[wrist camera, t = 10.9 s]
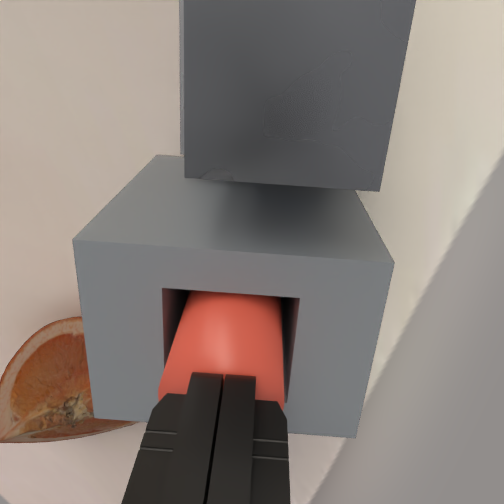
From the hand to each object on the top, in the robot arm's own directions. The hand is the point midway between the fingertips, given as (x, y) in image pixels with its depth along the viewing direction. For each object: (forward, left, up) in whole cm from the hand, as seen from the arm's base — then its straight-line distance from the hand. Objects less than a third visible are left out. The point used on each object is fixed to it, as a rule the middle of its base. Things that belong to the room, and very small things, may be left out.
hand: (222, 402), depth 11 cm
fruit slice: (-7, -8, -11) cm, 16 cm away
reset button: (0, 0, -7) cm, 7 cm away
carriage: (+1, +7, -11) cm, 13 cm away
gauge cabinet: (0, 0, -11) cm, 11 cm away
